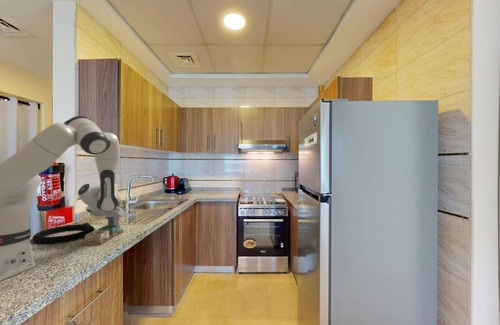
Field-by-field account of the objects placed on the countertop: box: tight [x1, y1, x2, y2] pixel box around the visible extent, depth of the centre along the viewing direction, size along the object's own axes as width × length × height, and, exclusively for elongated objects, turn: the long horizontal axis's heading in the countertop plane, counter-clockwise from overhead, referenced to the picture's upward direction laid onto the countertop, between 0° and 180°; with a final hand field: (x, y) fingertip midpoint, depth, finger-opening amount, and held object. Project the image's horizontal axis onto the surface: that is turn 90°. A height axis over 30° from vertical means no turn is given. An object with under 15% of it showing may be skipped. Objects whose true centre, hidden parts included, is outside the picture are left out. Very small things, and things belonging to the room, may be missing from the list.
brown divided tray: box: [80, 224, 124, 246], centre depth 129 cm, size 22×10×4 cm, turn 2°
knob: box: [107, 217, 120, 225], centre depth 146 cm, size 4×4×10 cm
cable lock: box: [31, 222, 95, 245], centre depth 134 cm, size 28×4×30 cm
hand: (113, 218), depth 146 cm, fingers open, 8 cm apart
